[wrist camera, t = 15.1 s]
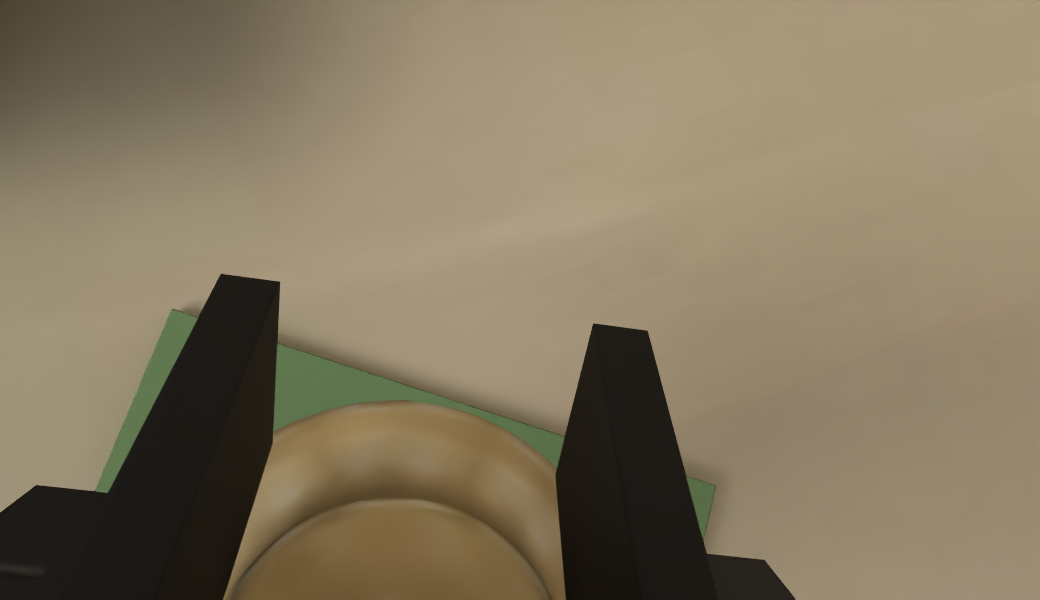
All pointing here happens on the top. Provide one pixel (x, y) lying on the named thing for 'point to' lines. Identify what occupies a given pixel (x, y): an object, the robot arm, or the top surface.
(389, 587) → the hand bell
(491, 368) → the top surface
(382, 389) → the cloth
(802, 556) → the top surface
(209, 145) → the top surface
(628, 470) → the robot arm
